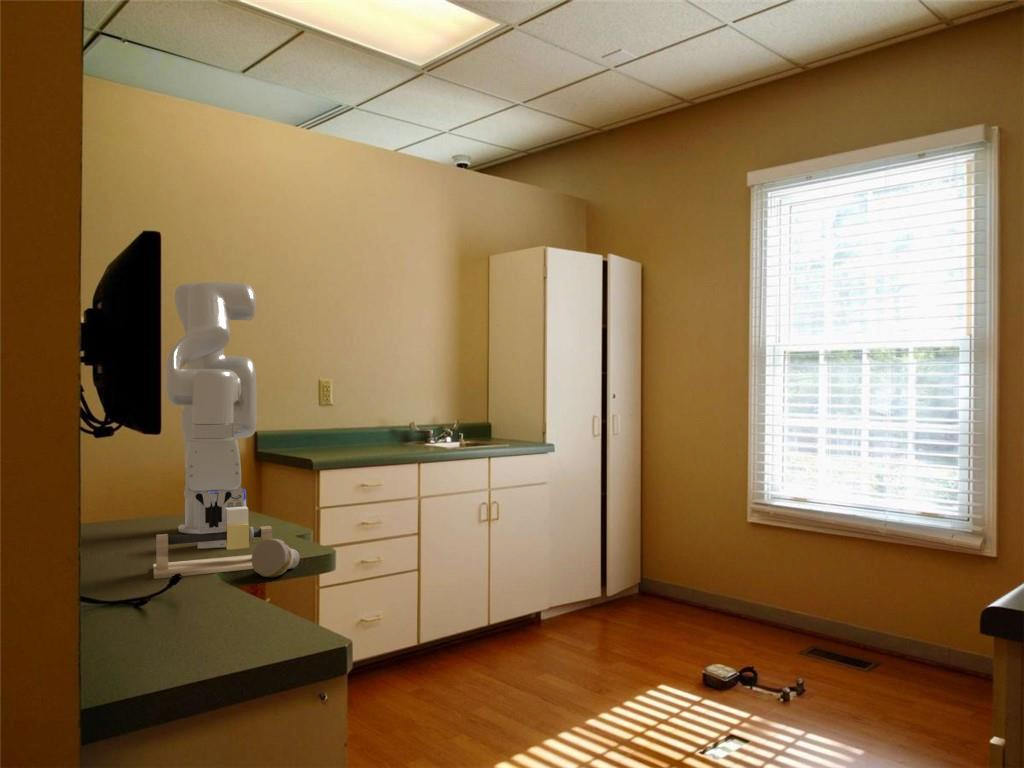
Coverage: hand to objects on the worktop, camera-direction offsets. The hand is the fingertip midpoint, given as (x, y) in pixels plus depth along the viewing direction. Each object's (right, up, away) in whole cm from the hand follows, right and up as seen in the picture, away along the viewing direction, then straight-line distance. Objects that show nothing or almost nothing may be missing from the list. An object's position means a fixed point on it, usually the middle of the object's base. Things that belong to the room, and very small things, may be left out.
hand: (213, 526), depth 150 cm
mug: (+14, -8, -4) cm, 17 cm away
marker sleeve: (+4, -4, +2) cm, 6 cm away
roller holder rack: (0, -8, 0) cm, 8 cm away
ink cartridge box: (-6, -8, +20) cm, 22 cm away
